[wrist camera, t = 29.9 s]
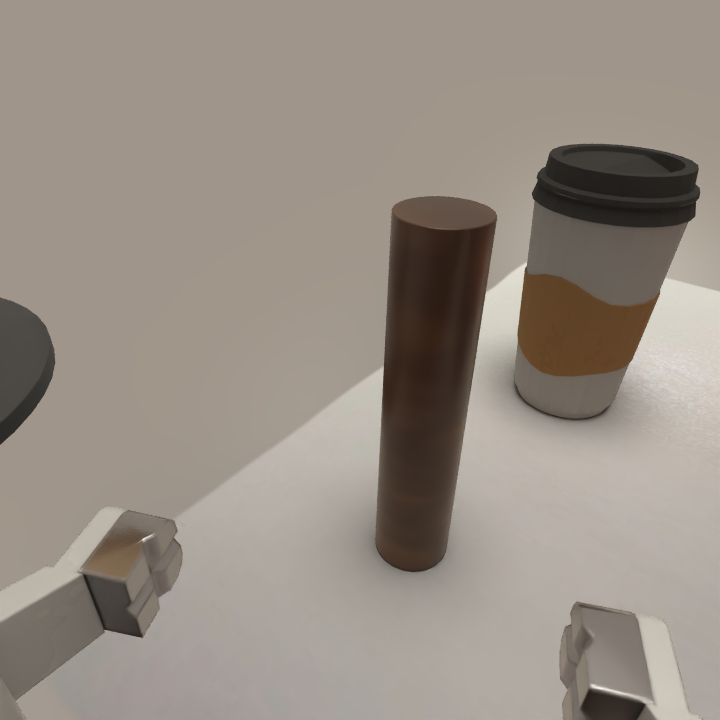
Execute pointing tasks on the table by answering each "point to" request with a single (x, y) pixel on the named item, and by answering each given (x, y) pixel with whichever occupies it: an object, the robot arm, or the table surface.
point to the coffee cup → (596, 269)
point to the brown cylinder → (428, 369)
